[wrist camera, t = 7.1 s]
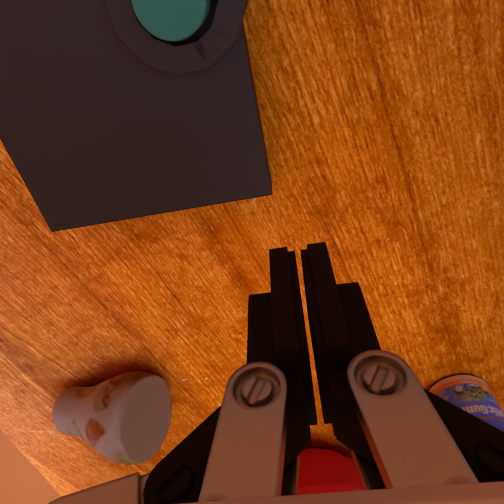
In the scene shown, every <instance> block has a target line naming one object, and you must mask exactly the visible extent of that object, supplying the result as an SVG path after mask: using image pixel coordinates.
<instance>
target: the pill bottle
mask: <svg viewBox="0 0 504 504" xmlns="http://www.w3.org/2000/svg"><path fill="white" fill-rule="evenodd" d="M429 391H430V392H432V393H433V394H435V395H437V396H439V397H441V398H443V399H444V400H446V401H448V402H450V403H452V404H454V405H455V406H457V407H459V408H461V409H463V410H465V411H466V412H468V413H470V414H472V415H474V416H476V417H477V418H479V419H481V420H483V421H485V422H487V423H488V424H490V425H492V426H494V427H496V428H498V429H500V430H501V431H503V432H504V414H503V413H502V411H501V409H500V407H499V405H498V403H497V401H496V400H495V398H494V396H493V394H492V392H491V390H490V389H489V387H488V385H487V384H486V383H485V382H484V381H483V380H482V379H480V378H478V377H475V376H471V375H455V376H451V377H448V378H445V379H443V380H441V381H439V382H437V383H436V384H435V385H433V386H432V387H431V388H430V390H429Z"/></svg>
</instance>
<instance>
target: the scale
mask: <svg viewBox="0 0 504 504" xmlns="http://www.w3.org/2000/svg"><path fill="white" fill-rule="evenodd" d="M246 6H247V0H210V9H209V13H208V16H207V18H206V20H205V22H204V23H203V25H202V26H201V27H200V28H199V29H198V30H197V31H196V32H195V33H194V34H193V35H191V36H190V37H188V38H186V39H184V40H181V41H165V40H162V39H159V38H157V37H155V36H154V35H152V34H151V33H150V32H148V31H147V30H146V29H145V28H144V27H143V25H142V24H141V23H140V21H139V20H138V18H137V16H136V14H135V12H134V9H133V6H132V3H131V0H0V139H1V141H2V143H3V145H4V146H5V148H6V150H7V152H8V154H9V156H10V157H11V159H12V161H13V163H14V165H15V166H16V168H17V170H18V172H19V174H20V175H21V177H22V179H23V181H24V183H25V184H26V186H27V188H28V190H29V192H30V193H31V195H32V197H33V199H34V201H35V202H36V204H37V206H38V208H39V210H40V212H41V213H42V215H43V217H44V219H45V221H46V222H47V224H48V226H49V228H50V230H51V231H52V232H54V231H60V230H66V229H72V228H78V227H84V226H90V225H95V224H101V223H107V222H113V221H119V220H125V219H131V218H137V217H143V216H149V215H155V214H160V213H166V212H172V211H178V210H184V209H190V208H196V207H202V206H208V205H214V204H220V203H225V202H231V201H237V200H243V199H249V198H255V197H261V196H267V195H272V181H271V175H270V170H269V164H268V158H267V153H266V147H265V142H264V136H263V130H262V125H261V119H260V114H259V108H258V103H257V97H256V91H255V86H254V80H253V75H252V69H251V64H250V58H249V52H248V47H247V41H246V36H245V30H244V25H243V16H244V13H245V9H246Z"/></svg>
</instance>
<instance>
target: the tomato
mask: <svg viewBox="0 0 504 504" xmlns="http://www.w3.org/2000/svg"><path fill="white" fill-rule="evenodd" d="M299 455H300V472H299V488H298V495H305V494H319V493H334V492H348V491H363V490H364V489H363V486H362V483H361V481H360V478H359V475H358V472H357V469H356V467H355V464H354V461H353V458H349V457H345V456H343V455H341V454H339V453H338V452H336V451H334V450H326V449H319V448H311V449H304V450H303V451H302V452H301V453H300V454H299Z"/></svg>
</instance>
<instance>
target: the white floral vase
mask: <svg viewBox="0 0 504 504" xmlns="http://www.w3.org/2000/svg"><path fill="white" fill-rule="evenodd" d="M171 410H172V403H171V397H170V393H169V389H168V385H167V383H166V382H165V380H164V379H162V378H161V377H159V376H157V375H155V374H151V373H148V372H142V371H133V372H127V373H123V374H120V375H117V376H115V377H112V378H110V379H108V380H106V381H104V382H102V383H100V384H97V385H95V386H92V387H70V388H68V389H66V390H65V391H64V392H63V393H62V394H61V395H60V396H59V398H58V399H57V400H56V402H55V404H54V407H53V411H52V416H53V422H54V425H55V427H56V428H57V430H58V431H60V432H61V433H64V434H68V435H74V436H78V437H81V438H83V439H84V440H85V441H86V442H87V443H88V444H89V445H91V446H92V447H93V448H94V449H95V450H96V451H97V452H98V453H100V454H101V455H102V456H104V457H105V458H107V459H109V460H111V461H113V462H116V463H119V464H138V463H142V462H144V461H147V460H149V459H150V458H151V457H153V456H154V455H155V454H156V453H157V451H158V450H159V449H160V447H161V446H162V444H163V441H164V439H165V437H166V435H167V432H168V429H169V425H170V421H171Z"/></svg>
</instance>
